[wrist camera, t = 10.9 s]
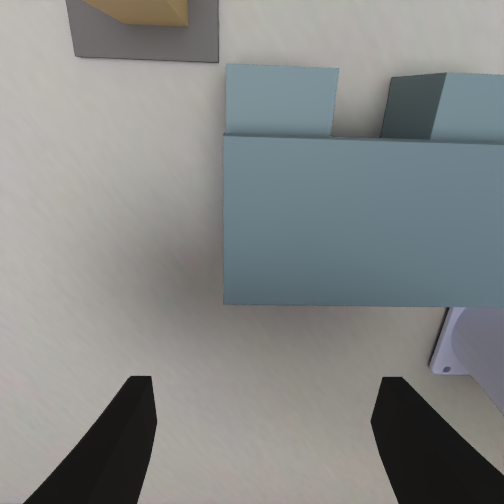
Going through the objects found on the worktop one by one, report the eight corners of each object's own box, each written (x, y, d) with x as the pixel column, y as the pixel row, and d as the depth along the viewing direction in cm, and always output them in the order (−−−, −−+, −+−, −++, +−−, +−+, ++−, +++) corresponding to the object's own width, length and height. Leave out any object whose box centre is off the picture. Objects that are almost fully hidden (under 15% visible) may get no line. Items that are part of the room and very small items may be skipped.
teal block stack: (471, 80, 15) (611, 74, 9) (426, 241, 19) (507, 307, 13) (230, 70, 15) (222, 58, 9) (229, 237, 18) (223, 304, 13)
